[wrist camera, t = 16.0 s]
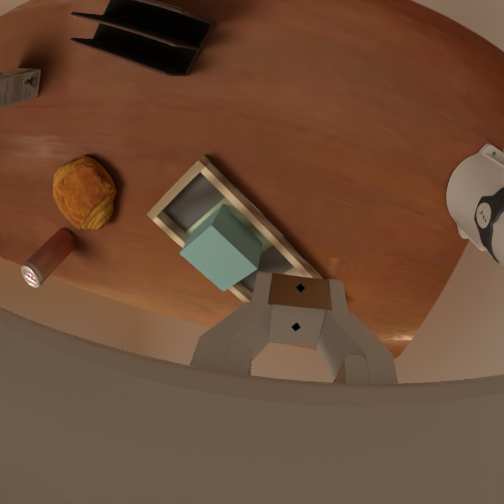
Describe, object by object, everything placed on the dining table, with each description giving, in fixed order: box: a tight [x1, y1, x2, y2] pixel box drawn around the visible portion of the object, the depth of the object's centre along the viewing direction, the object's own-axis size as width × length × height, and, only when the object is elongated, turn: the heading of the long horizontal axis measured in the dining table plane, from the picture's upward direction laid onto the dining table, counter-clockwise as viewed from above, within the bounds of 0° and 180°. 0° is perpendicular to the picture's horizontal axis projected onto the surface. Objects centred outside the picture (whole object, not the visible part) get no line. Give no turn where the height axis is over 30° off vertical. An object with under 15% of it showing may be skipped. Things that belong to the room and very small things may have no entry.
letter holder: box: [70, 0, 215, 76], centre depth 29 cm, size 10×20×14 cm, turn 61°
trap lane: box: [147, 155, 323, 303], centre depth 54 cm, size 38×14×3 cm, turn 43°
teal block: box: [180, 204, 263, 292], centre depth 50 cm, size 10×8×8 cm
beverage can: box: [21, 229, 75, 288], centre depth 54 cm, size 6×6×15 cm
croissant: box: [53, 155, 117, 230], centre depth 50 cm, size 14×16×8 cm
